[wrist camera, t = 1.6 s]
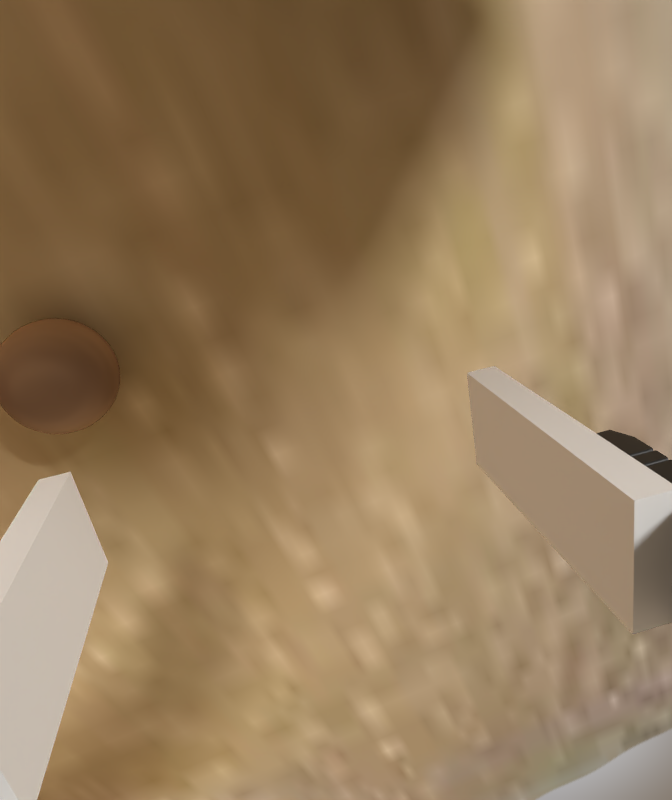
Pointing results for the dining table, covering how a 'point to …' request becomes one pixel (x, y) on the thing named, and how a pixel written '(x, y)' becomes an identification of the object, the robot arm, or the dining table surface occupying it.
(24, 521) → the robot arm
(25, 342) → the brown ball
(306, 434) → the dining table surface
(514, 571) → the dining table surface
